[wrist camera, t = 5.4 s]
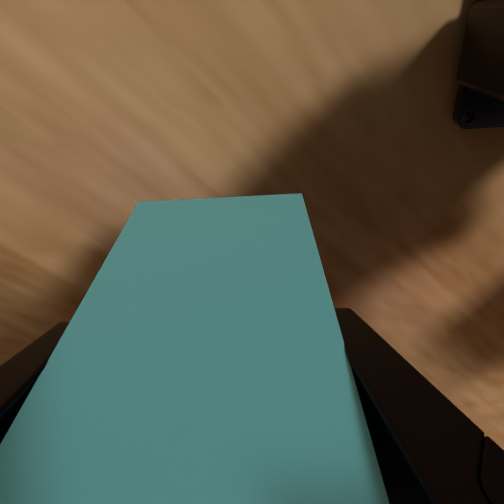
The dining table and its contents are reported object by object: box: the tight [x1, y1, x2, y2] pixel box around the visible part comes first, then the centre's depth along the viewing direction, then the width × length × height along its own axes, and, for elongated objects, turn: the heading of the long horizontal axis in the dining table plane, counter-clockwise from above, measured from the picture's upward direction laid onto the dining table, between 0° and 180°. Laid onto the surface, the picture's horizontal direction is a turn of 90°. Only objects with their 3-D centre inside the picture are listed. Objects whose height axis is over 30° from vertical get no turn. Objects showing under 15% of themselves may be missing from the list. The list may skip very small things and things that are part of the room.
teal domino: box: [0, 193, 389, 504], centre depth 8 cm, size 5×2×10 cm, turn 93°
